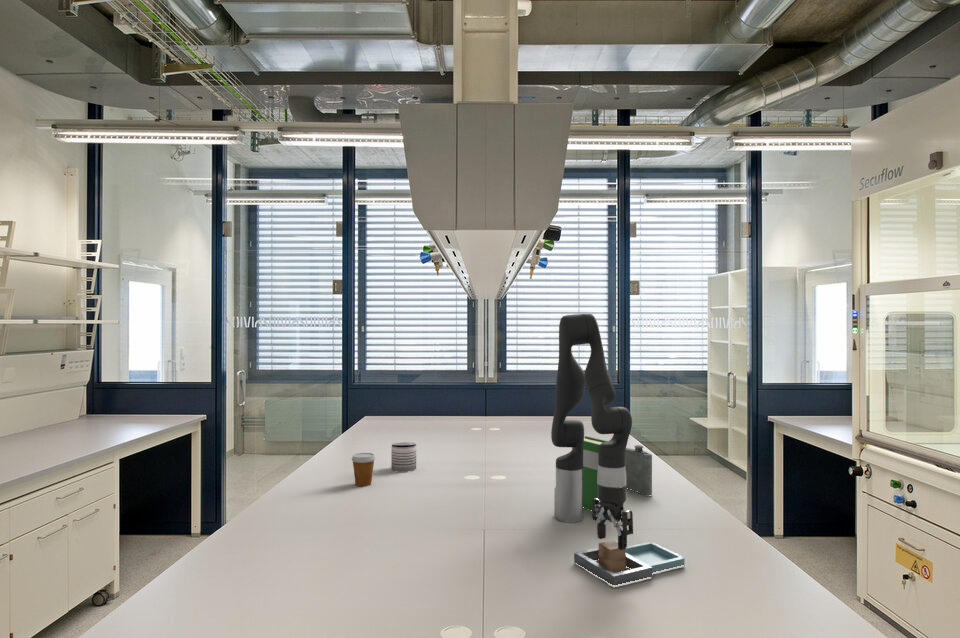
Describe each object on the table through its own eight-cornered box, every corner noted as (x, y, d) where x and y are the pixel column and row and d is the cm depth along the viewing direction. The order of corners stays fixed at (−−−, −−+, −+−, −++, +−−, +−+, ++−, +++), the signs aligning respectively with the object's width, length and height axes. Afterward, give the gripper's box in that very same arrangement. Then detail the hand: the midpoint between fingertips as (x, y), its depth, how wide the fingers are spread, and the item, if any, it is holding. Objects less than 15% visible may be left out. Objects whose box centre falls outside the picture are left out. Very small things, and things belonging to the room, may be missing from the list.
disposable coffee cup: (372, 487, 234) (372, 457, 234) (348, 487, 234) (349, 457, 234) (377, 481, 243) (377, 452, 243) (354, 481, 243) (354, 452, 244)
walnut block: (598, 569, 157) (598, 543, 157) (613, 566, 159) (613, 540, 159) (610, 576, 152) (610, 549, 152) (625, 573, 154) (625, 546, 154)
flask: (629, 486, 237) (629, 442, 237) (655, 495, 224) (655, 448, 225) (622, 487, 235) (622, 442, 235) (647, 496, 223) (648, 449, 223)
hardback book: (571, 503, 214) (571, 438, 214) (586, 500, 218) (586, 436, 218) (606, 517, 199) (606, 446, 199) (622, 513, 203) (622, 444, 203)
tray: (614, 557, 164) (614, 548, 164) (651, 549, 170) (651, 541, 170) (647, 576, 152) (647, 566, 152) (686, 567, 158) (686, 557, 158)
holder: (574, 563, 160) (574, 552, 160) (610, 555, 166) (610, 545, 166) (613, 588, 145) (613, 576, 145) (652, 579, 151) (652, 567, 151)
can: (386, 471, 260) (386, 444, 260) (397, 465, 271) (397, 439, 271) (410, 473, 257) (410, 445, 257) (420, 467, 268) (420, 441, 268)
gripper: (584, 477, 160) (584, 537, 160) (617, 490, 148) (617, 555, 147) (606, 474, 164) (606, 533, 163) (640, 487, 151) (641, 550, 151)
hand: (611, 543), depth 155 cm, fingers open, 8 cm apart
